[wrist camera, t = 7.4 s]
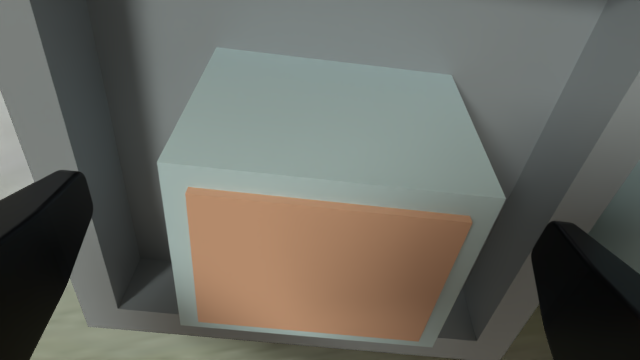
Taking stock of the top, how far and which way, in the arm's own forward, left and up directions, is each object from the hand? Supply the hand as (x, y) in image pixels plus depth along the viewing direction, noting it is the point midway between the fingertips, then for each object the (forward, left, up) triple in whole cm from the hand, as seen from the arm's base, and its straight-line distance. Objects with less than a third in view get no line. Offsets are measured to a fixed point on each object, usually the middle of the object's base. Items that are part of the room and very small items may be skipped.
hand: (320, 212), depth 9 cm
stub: (0, 0, -2) cm, 2 cm away
